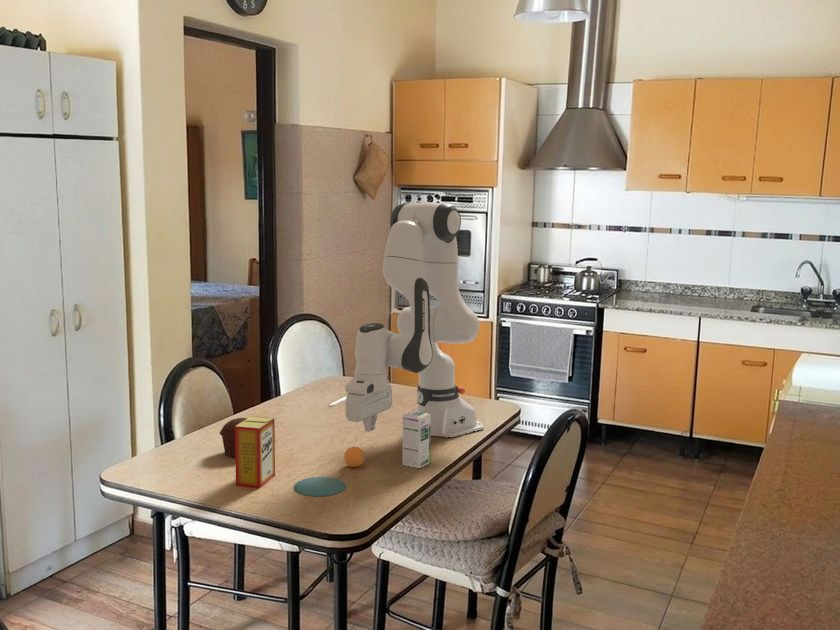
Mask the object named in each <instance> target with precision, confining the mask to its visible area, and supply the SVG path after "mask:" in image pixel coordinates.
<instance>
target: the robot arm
mask: <svg viewBox="0 0 840 630" xmlns="http://www.w3.org/2000/svg"><path fill="white" fill-rule="evenodd" d="M389 217H390V218H389V225H390V230H389V233H388V237H387V240H386V244H385V249H384V255H383V260H382V261H383V262H382V276H383V278H384V280H385V282H386V284H388V286H389V287H390V288H391V289H393V290H394V291H396V292H398V293H400V294H401V295H403V296H404V297H405V298H406V300H407V301H408V303H409V306H407V307H404V308H402V310H400V313H399V314H398V316H397V319H396V327H397V330H398V333H395V332H393V331H391V330H388V329H387V328H386V326H385V325H384V324H383V323H380V322H379V323H378V322H370V323H365V324H363V325H361V326H360V327H359V328H358V330H357V333H356V338H355V350H354V356H355V357H354V358H355V363H356V365H355V370H354V376H353V377H352V378H351V380H349V382H348V383H346V385H345V387H344V388H345V389H344V390H345V393H347V395H346V396H347V397H346V396H345V397H346V401H345V416H346V419H347V421H348V422H353V423H360V422H363V423H362V424H363V425H364V426H363V427H364V428H363V429H364V432H367V433H369V432H372V431H374V430H375V429H376V423H377V420H378V417H379V415H378V414H381V413H382V412H385V411H387V410H390V409H391V408H392V407H393V406H392V405H393V393H392V391H393V390H392V386H391V384H390V380H389V379H388V377H387V372H388V371H387V367H391V368H394V369H395V368H396V369H401V370H405V371H408V372H411V373H415V374H417V373H418V384H417V388H416V389H417V391H416V392H417V393H416V397H417V398H416V399H417V407H416V409H417V410H416V411H423V412H427V413H430V414H431V436H432V437H443V438H448V437H451V438H454V437H458V435H459V436H463V435H466V433H467V434H471V433H474V432H473V431H475V432H479V431H481V430H484V429H483V428H484V424H483V423H482V422H481V421H479V420H477V414H476V411H475V408H474V407H473V406H472V405H470V404H469V403H468V402H467V401H465V400H464V399H463V398H462V397H461V396H460V395H459V394H461V395H464V394H465V393H466V389H465V387H462V386H458V385H456V384H455V376H456V375H455V374H456V373H455V371H456V370H455V368H456V367H455V366H456V365H455V362H454V360H453V358H452V357H451V356H450V355H448V354H446V352H443V351H442V350H441V349H440V348H439V345H438V343H441V344H442V343H444V344H455V345H456V344H467V343H472V342H473V341H474V340H475V339H476V337H478V334H479V332H480V324H481V323H480V319H479V317H478V315H477V314H476V312H475V311H473V310H472V309H471V308H470V307H469V306H468V305H467V304H466V302H465V301H464V299H463V297H462V295H461V292H460V289H459V281H458V280H459V275H458V274H459V273H458V264H459V263H458V262H459V261H458V260H459V255H458V254H459V252H458V241H457V235H458V233H459V231H460V229H461V224H462V218H461V215H460V212H459V210H458V208H457V207H456V206H455V205H453V204H450V203H446V202H442V203H440V202H434V201H433V202H431V201H423V202H413V203H412V202H411V203H410V202H405V203H400V204H397V205H396V206H395V207H394V208H393V210H392V212H391V213H390V216H389ZM430 296H433V297H434V298H435V299H436V301H437V302H438V306H433V305H431V298H430ZM478 430H479V431H478ZM470 432H471V433H470Z"/></svg>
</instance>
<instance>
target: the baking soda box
mask: <svg viewBox="0 0 840 630" xmlns="http://www.w3.org/2000/svg"><path fill="white" fill-rule="evenodd" d="M247 418H248V419H246V420H244V421H243V422H241V423H239V424H238V425H236V426H235V458H234V460H235V461H234V462H235V486H236V487H244V488H251V489H252V488H253V489H261V488H262V487H263V486H265V485H266V484H267V483H269V481H270V480H272V479H273V478H274V477H276V454H275V453H276V444H275V443H276V441H275V440H276V439H275V437H276V436H275V435H276V434H275V429H276V428H275V418H274V417H265V416H264V417H263V416H253V415H251V416H248V417H247ZM271 478H272V479H271Z"/></svg>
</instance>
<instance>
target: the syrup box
mask: <svg viewBox="0 0 840 630" xmlns="http://www.w3.org/2000/svg"><path fill="white" fill-rule="evenodd" d="M431 438H432V437H431V414H430V413H427V412H423V411H417V410H412V411H411V412H408V413H406V414H403V415H402V465H403V466H405V465H406V467H408V466H412V467H416V468H415V469H417V468H420V469H422V468H423V467H425V466H427V465H430V464H431V440H432V439H431ZM429 463H430V464H429ZM412 467H411V468H412ZM421 467H422V468H421Z"/></svg>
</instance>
